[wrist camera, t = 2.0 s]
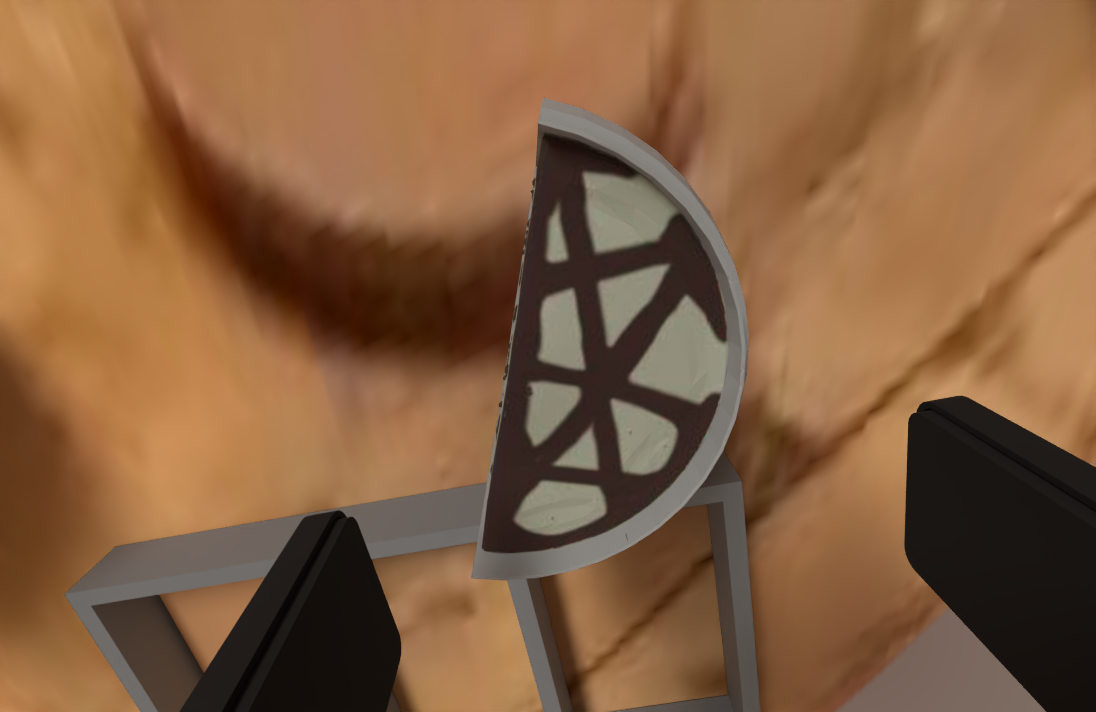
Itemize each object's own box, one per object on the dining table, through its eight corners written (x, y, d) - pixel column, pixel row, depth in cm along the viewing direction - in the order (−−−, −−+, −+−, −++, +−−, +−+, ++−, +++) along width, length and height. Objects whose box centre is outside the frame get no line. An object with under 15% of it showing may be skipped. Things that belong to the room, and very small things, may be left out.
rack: (719, 442, 24) (741, 481, 22) (743, 703, 30) (764, 760, 27) (115, 546, 26) (64, 594, 23) (248, 773, 32) (220, 834, 29)
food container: (635, 439, 24) (692, 621, 15) (497, 420, 24) (468, 594, 15) (709, 146, 20) (853, 146, 11) (543, 116, 20) (542, 89, 10)
